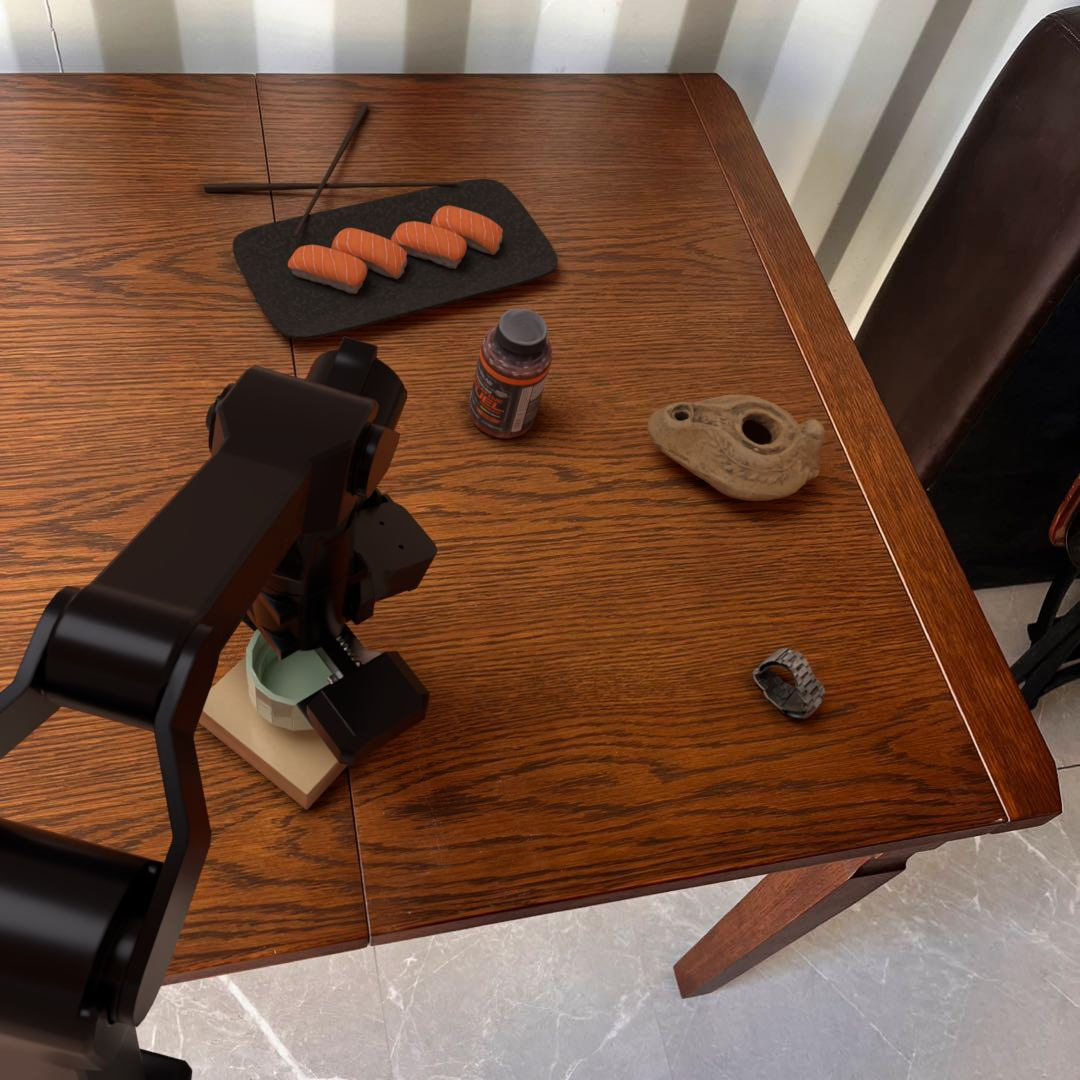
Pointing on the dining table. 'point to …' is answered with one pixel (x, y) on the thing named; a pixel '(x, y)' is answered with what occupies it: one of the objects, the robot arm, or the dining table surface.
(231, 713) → the plate
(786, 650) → the wristwatch
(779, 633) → the dining table surface
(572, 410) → the dining table surface
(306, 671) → the bowl
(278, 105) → the dining table surface
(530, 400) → the supplement bottle
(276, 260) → the sushi plate
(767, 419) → the oil lamp
